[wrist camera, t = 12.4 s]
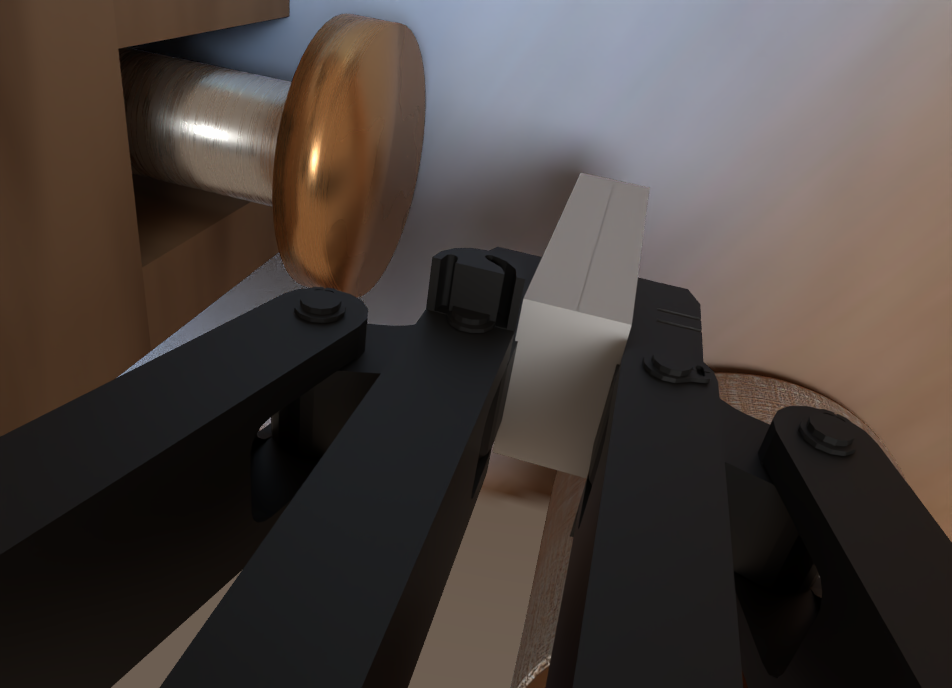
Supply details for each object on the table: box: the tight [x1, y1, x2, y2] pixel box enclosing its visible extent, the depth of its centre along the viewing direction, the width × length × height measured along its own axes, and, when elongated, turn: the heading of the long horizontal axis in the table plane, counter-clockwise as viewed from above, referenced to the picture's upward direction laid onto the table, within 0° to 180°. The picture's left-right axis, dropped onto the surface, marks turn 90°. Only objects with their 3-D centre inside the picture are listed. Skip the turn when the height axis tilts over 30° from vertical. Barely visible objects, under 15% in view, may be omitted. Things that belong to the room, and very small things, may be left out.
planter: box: [511, 372, 907, 688], centre depth 20 cm, size 11×11×10 cm
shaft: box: [118, 14, 425, 298], centre depth 18 cm, size 14×6×6 cm, turn 82°
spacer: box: [0, 0, 289, 437], centre depth 16 cm, size 5×9×12 cm, turn 172°
